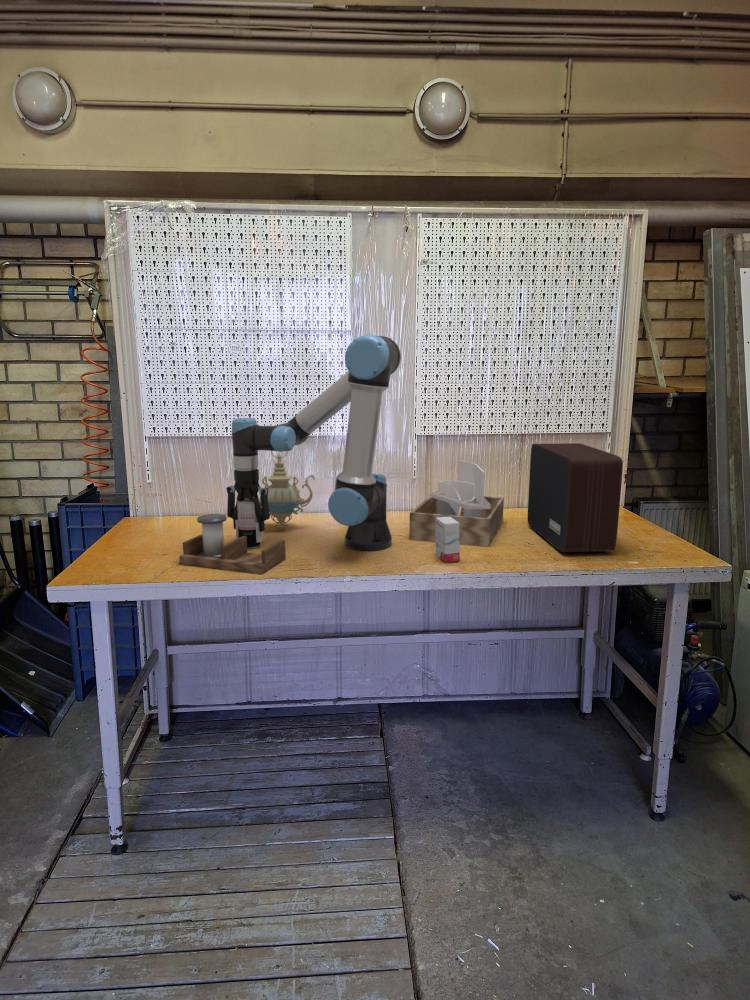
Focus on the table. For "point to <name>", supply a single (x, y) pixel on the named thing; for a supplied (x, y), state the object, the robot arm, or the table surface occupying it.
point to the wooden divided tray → (234, 556)
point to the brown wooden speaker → (575, 496)
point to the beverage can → (247, 522)
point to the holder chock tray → (469, 527)
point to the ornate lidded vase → (284, 493)
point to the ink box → (447, 539)
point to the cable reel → (212, 534)
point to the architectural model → (462, 492)
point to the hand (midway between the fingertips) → (249, 540)
